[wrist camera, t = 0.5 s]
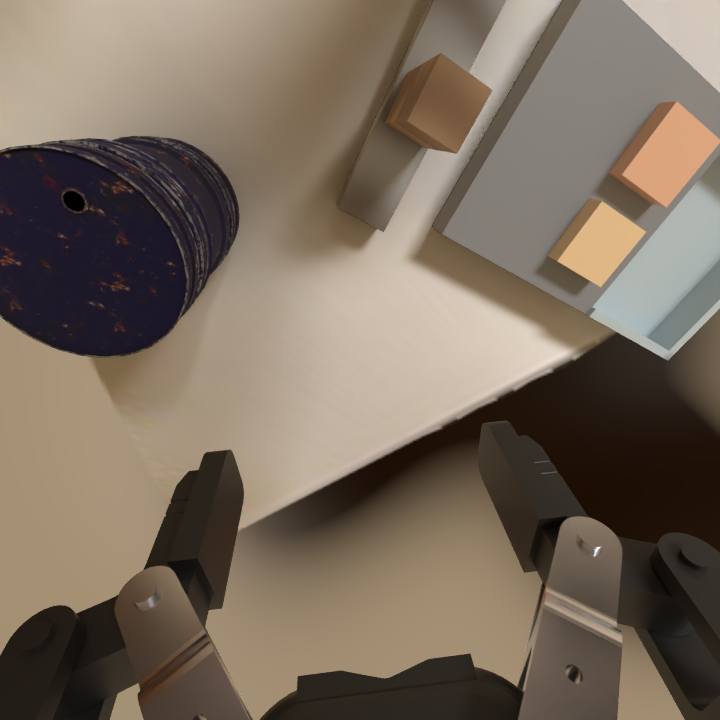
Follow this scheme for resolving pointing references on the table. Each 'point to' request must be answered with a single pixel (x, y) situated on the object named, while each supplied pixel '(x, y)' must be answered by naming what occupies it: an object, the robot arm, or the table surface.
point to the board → (572, 144)
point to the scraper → (422, 107)
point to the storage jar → (109, 239)
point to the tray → (671, 275)
